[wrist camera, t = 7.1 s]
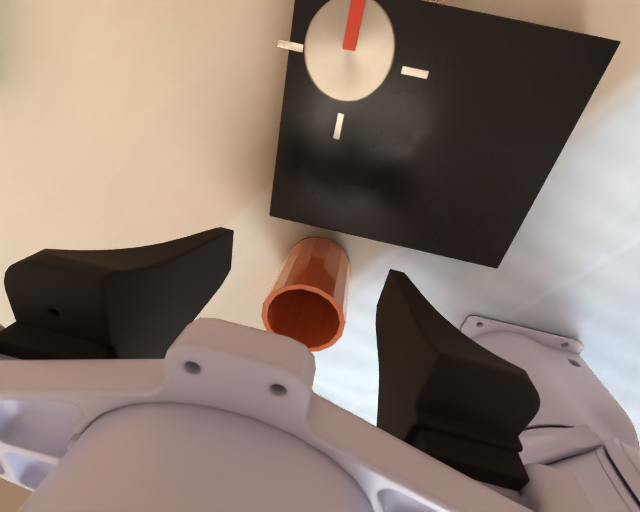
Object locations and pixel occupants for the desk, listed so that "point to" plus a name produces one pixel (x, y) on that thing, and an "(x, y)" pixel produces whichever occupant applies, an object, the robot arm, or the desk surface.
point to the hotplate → (435, 130)
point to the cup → (310, 294)
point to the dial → (349, 49)
